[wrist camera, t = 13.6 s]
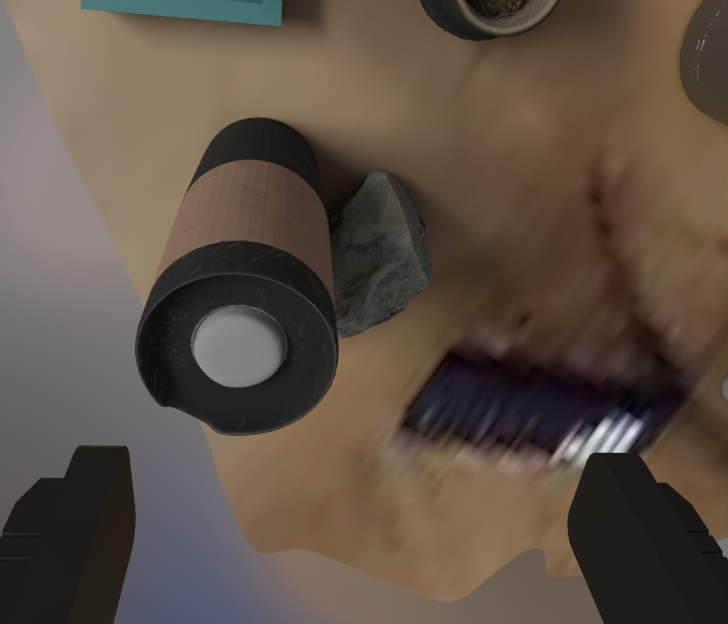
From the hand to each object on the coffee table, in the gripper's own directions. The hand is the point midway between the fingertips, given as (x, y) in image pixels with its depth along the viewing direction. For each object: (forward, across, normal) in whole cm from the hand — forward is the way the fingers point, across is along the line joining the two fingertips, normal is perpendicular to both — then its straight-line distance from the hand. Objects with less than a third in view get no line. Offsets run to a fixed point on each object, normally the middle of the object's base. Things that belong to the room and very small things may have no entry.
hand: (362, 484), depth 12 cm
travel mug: (+32, +3, +6) cm, 33 cm away
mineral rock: (+32, -1, +11) cm, 34 cm away
